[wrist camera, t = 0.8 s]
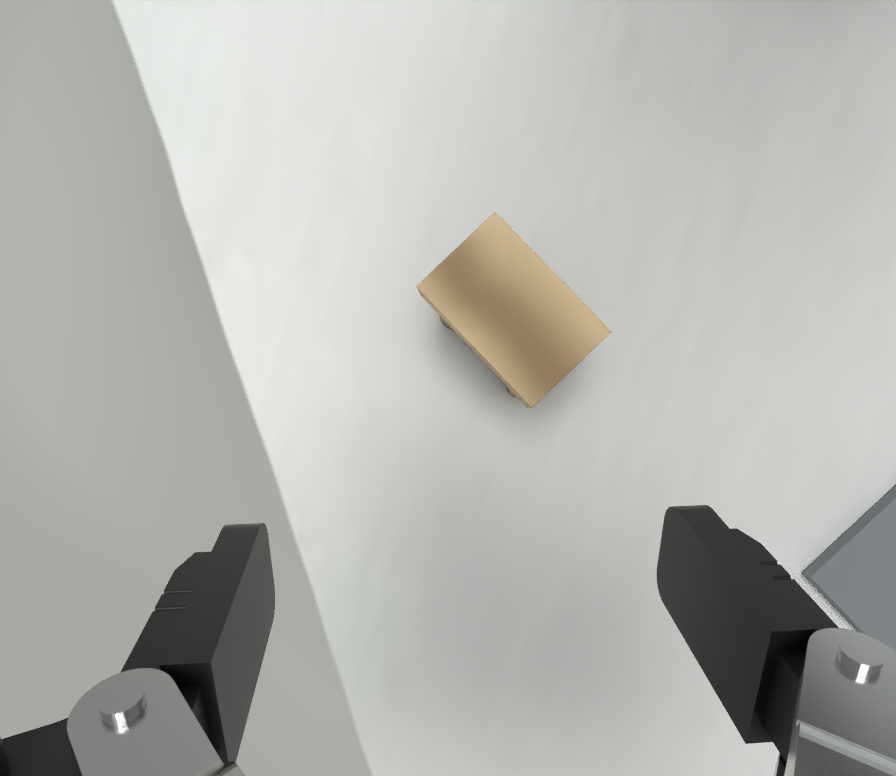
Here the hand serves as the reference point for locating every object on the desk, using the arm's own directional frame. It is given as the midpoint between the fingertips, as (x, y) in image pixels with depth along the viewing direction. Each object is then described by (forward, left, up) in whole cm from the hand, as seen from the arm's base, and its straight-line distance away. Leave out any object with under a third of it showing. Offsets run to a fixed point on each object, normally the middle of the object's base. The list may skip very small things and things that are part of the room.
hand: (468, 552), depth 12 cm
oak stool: (-7, -4, -26) cm, 28 cm away
